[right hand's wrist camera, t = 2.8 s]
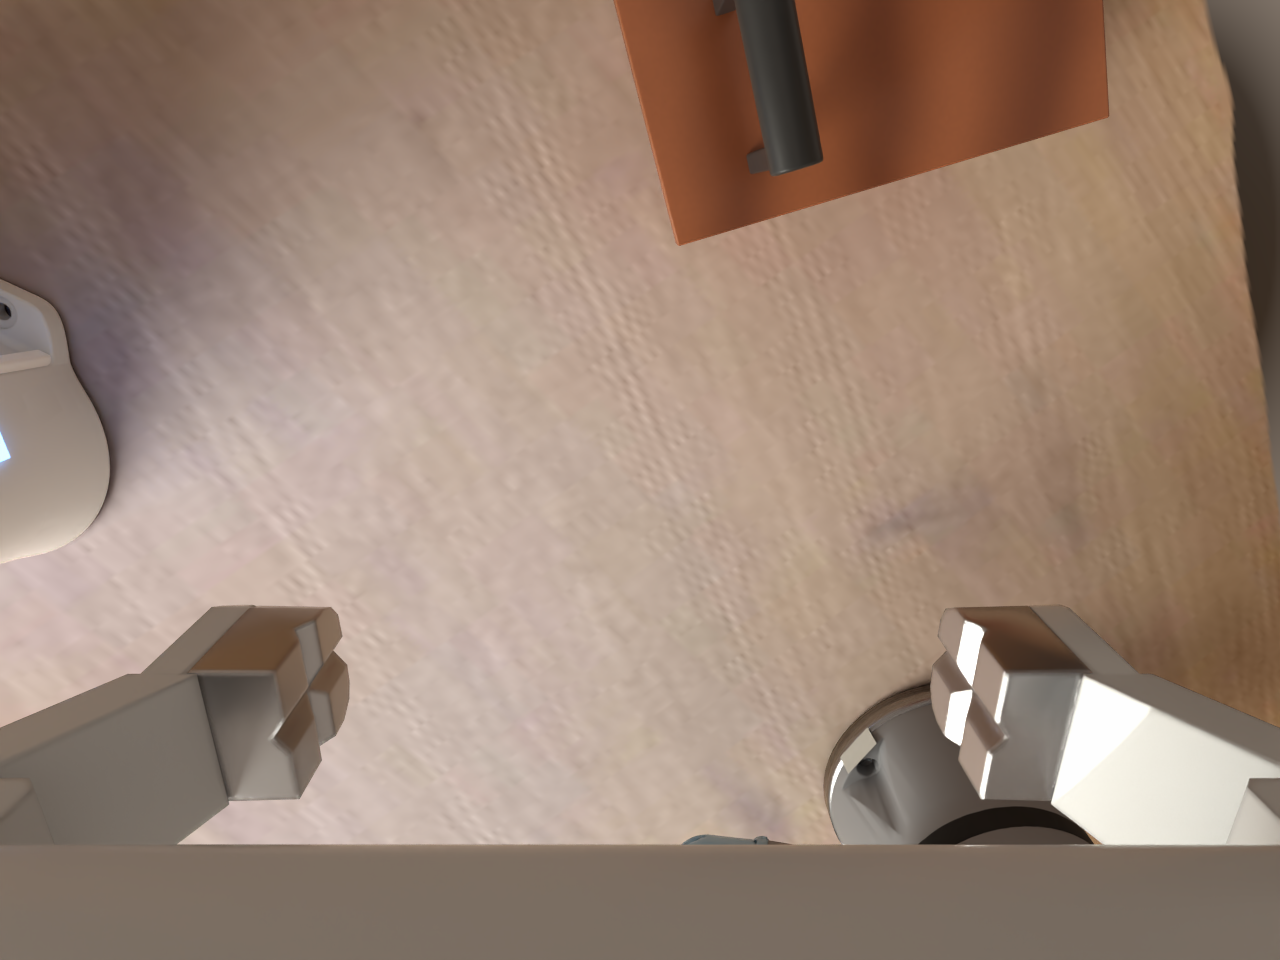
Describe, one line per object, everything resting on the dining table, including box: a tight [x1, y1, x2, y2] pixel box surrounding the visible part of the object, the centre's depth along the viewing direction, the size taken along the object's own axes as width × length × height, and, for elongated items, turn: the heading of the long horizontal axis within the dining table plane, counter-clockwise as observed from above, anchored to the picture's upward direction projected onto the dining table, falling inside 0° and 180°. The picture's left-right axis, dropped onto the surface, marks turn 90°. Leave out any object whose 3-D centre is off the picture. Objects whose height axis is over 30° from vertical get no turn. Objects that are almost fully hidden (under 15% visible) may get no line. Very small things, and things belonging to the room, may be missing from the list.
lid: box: [614, 0, 1109, 246], centre depth 23 cm, size 16×9×8 cm, turn 106°
